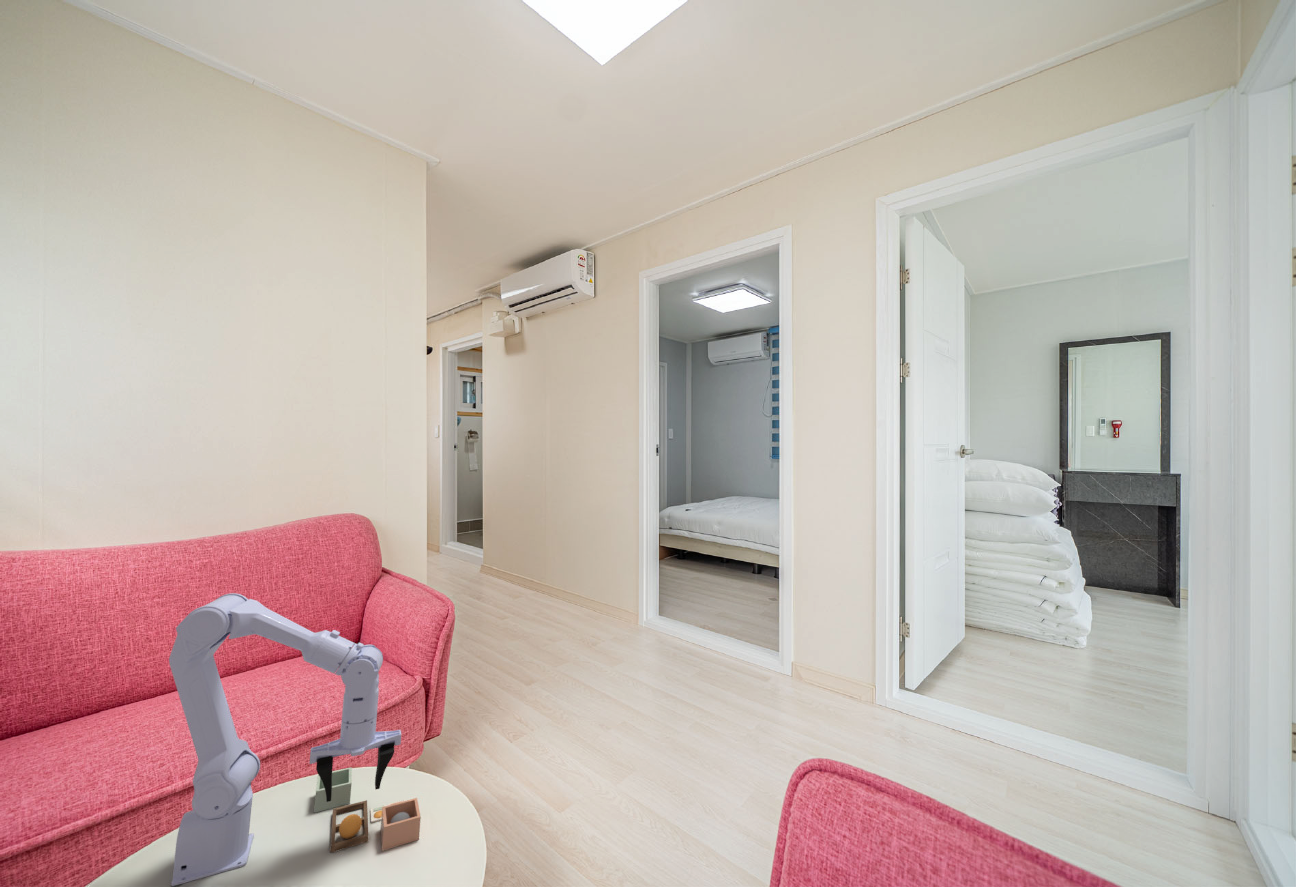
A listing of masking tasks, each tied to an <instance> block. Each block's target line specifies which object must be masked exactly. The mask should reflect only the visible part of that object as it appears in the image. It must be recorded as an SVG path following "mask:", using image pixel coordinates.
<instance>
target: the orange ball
mask: <svg viewBox="0 0 1296 887" xmlns="http://www.w3.org/2000/svg"><path fill="white" fill-rule="evenodd" d="M361 818H362V817H360V815H358V814H355V813H352V814H349V815H347V816H345V818H343V820H342V821H341V822H340V823H339V824H340V827H339V832H338V834H339V836H340V837H341V838H342V839H344V840H349V839H352V838H355V836H357V834H358V833H359V832H360V830H361V828H362V826H363V825H362V820H361Z"/></svg>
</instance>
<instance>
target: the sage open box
mask: <svg viewBox="0 0 1296 887" xmlns="http://www.w3.org/2000/svg"><path fill="white" fill-rule="evenodd" d="M352 768H353V767H352V766H351V767H347V768H342V769H337V770H332V795H331V801H329V802H326V792H325V788H324V785H323V782H322V780H321V778H320V776H319V775H318V774H317V779H316V788H315V798H314V809H313V813H314V814H315V813H318V812H323V811H327V810H332V809H335V808H339V807H342V806H346V805H350V804H351V794H352V782H353V780H352V776H353V774H352V773H353V771H352V770H353V769H352Z"/></svg>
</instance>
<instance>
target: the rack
mask: <svg viewBox="0 0 1296 887" xmlns="http://www.w3.org/2000/svg"><path fill="white" fill-rule="evenodd" d="M361 809H362V810H363V812H362V813H363V814H362V815H363V817H360V818H361V820H362V825H361V826H363V835H360V836H356V837H352V838H349V839H344V840H341V841H339V842H336V833H339V827H340V824H341V823H337V816H339V815H342V814H345V813H349V812H355V811H357V810H361ZM368 813H369V812H368V800H367V799H366V800H362V801H359V802H355V803H350V804H347V805H343V806H339V807H335V808H332V814H331V815H332V819H331V834H330V835H331V837H330V851H329V852H330V854H331V853H334V852H338V851H340V850H344V849H347V848H351V847H355V846H358V845H362V844H364V843H368V842H369V836H370V835H369V818H368V816H369V815H368Z"/></svg>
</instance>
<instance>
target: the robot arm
mask: <svg viewBox="0 0 1296 887" xmlns="http://www.w3.org/2000/svg"><path fill="white" fill-rule="evenodd" d="M175 631H176V633H177V635H176V637H175V641H174V643H173V645H172V649H171V652H170V655H169V658H168V661H169V662H168V664H169V668H170V671H171V673H172V677H173V680H174V683H175V684H174V685H175V687H176V691H177V694H178V696H179V700H180V703H181V706H182V711H183V713H184V716H185V720H186V723H187V727H188V730H189V733H190V736H191V739H192V743H193V746H194V750H195V753H196V756H197V760H198V761H197V763H196V764H197V765H196V767H195V771H194V774H193V777H192V778H193V779H192V784H193V785H192V786H193V788H194V789H193V790H194V791H193V796H192V799H191V808H192V810H190V811H186V812H185V813H184V814H183V815H182V818H181V819H180V820H181V821H180V824H179V828H178V831H177V836H176V843H175V853H174V861H173V862H174V863H173V871H172V880H171V882H170V885H171V886H172V887H174V886H178V885H182V884H185V883H188V882H192V881H196V880H200V879H203V878H206V877H210V876H215V875H218V874H221V873H224V872H228V871H231V870H234V869H235V870H236V869H239V868H241V867H242V868H243V867H245V866H246V865H247V863H248V859H249V855H250V852H251V848H252V844H253V840H254V835H255V834H254V833H253V832H252V833H250V827H251V817H252V816H251V815H252V807H253V806H252V805H253V795H254V794H253V789H252V782H253V781H254V779H255V778H257V776H258V774H259V773H260V769H261V760H260V759H259V756H258V755H257V754H256V753H254V752H253V751H252V750H251V749H250V746H249V743H248V741H246V740H245V739H241V738H239V736H238V733H237V731H236V727H235V724H234V723H235V722H234V720H233V716H232V714H231V711H230V707H229V703H228V700H227V697H226V693H225V691H224V686H223V684H222V680H221V677H220V673H219V670H218V666H217V663H216V660H215V656H214V655H215V653H216V652H217V651H218V650H219V648H220V647H221V646H222V644H223V643H224V642H225V640H226V639H227V637H228V640H233V639H234V640H235V639H238V638H242V637H247V636H248V637H249V636H252V635H253V636H254V635H257V636H259V637H262V638H265V639H267V640H270V641H272V642H276V643H279V644H281V645H284V646H287V647H289V648H292V649H295V650H298V651H300V653H301V655H302V658H303V661H304V662H306V663H309V664H311V665H313V666H315V667H318V668H319V669H321V670H322V669H323V670H324V671H327V672H329V673H331V674H334V675H336V676H340V677H341V682H342V683H343V685H344V686H345V687H344V693H343V698H342V699H343V701H342V712H341V723H340V735H339V736H340V737H339V739H336V740H333V741H332V740H331V741H330V742H326V743H323V744H321V745H316V746H313V747H310V754H309V755H310V756H309V765H311V764H316V773H317V776H318V775H319V776H320V778H321V780H322V782H323V785H324V788H325V792H326V802H329V801H331V795H332V772H333V766H334V758H336V757H341V756H345V755H350V756H351V757H356V756H359V755H363V754H365V752H366V751H368V750H373V749H377V765H376V770H375V771H376V772H375V776H374V777H375V779H374V787H375V791H376V790H379V789H380V788H381V784H382V783H381V782H382V780H383V777H384V774H385V772H386V769H387V767H388V765H389V763H390V761H391V760H392V758H393V757H394V754H395V746H400V745H402V744H401V742H402V731H401V729H397V730H385V731H383V730H382V731H376V730H377V720H378V718H377V717H378V706H379V705H378V703H379V690H380V689H379V684H380V680H379V679H380V678H379V677H380V674H379V672H380V669H381V668H382V665H383V662H384V654H383V652H382V651H381V649H379V648H378V647H377V646H376V645H374V644H364V643H361V642H358V643H355V642H353V641H351V640H349V639H347V638H345V637H342V636H341V635H340V634H341V632H340V631H338V630H335V629H333V630H332V631H330V630H327V629H325V630H322V631H317V632H314V631H311V630H310V629H307V628H306V627H304V626H302V625H300V624H298V623H296V622H295V621H292V620H290V619H289V618H286V617H285V616H283V615H281V614H279V613H277V612H275V611H273V610H272V609H270V608H267V607H266V606H265V605H263V604H262V603H261V602H260V601H259V600H257V599H256V600H255V599H252V598H249V599H248V598H247V597H246V595H245V596H244V595H243V594H240V593H235V592H232V593H226V594H223V595H220V596H218V597H217V598H216V599H214V600H213V601H211V602H209V603H207V604H204V605H203V606H200V607H198V608H195V609H193V610H192V611H190V613H188V614H187V615H186V616H185V617H184V618H183V619H182V621H181V622H179V624H178V625H177V626H176V628H175Z"/></svg>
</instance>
